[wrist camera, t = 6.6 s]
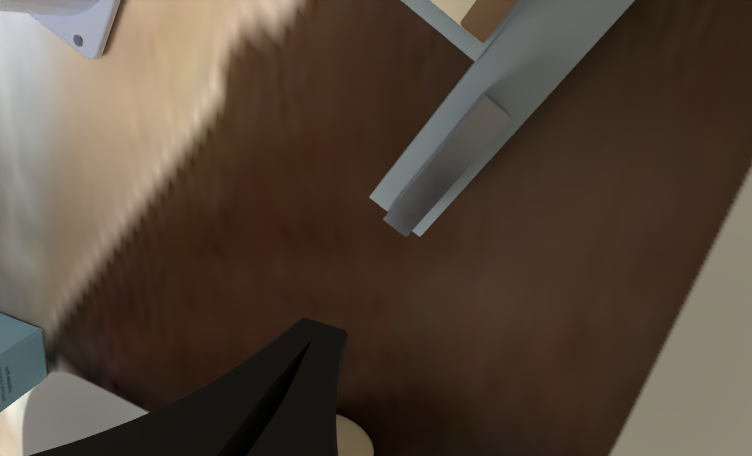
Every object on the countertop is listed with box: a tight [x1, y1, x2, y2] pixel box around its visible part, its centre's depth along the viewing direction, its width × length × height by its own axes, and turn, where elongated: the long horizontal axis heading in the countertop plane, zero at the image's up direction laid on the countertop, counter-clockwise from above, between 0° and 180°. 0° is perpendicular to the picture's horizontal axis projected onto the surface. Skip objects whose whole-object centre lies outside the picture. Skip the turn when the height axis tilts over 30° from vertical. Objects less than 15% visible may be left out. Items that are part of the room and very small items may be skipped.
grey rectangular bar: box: [383, 92, 512, 237], centre depth 14 cm, size 1×5×2 cm, turn 143°
